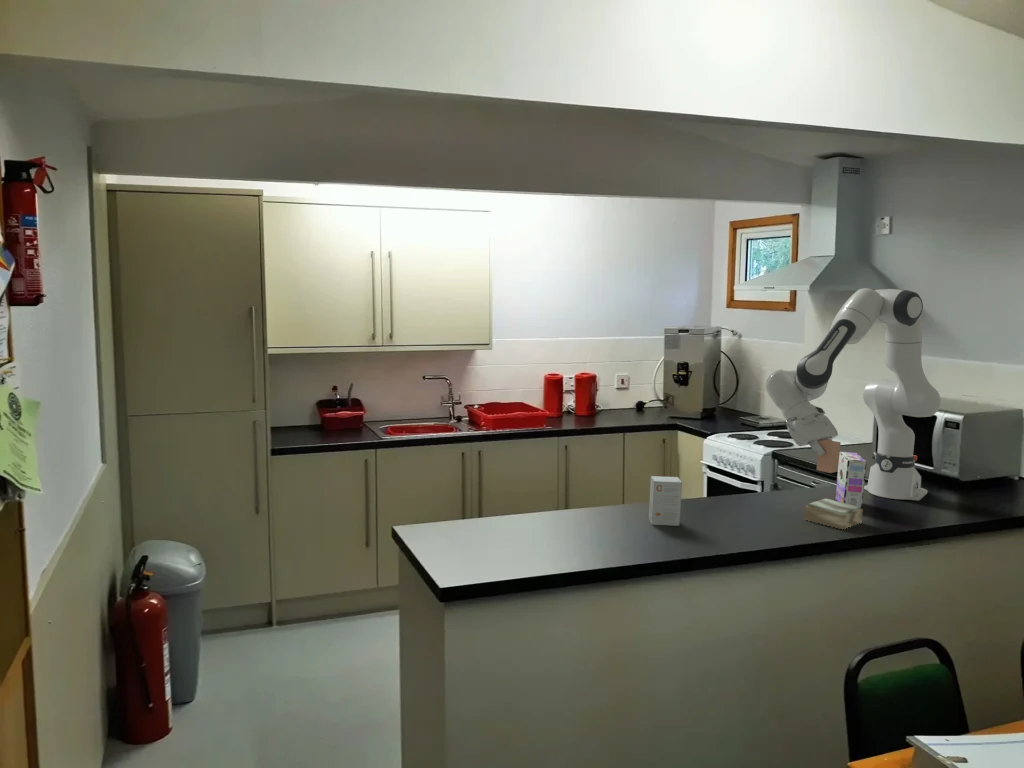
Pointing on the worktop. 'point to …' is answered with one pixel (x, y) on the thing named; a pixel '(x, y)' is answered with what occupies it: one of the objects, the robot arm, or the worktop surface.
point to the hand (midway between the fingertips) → (828, 453)
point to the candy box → (850, 478)
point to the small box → (665, 500)
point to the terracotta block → (829, 456)
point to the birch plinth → (833, 513)
